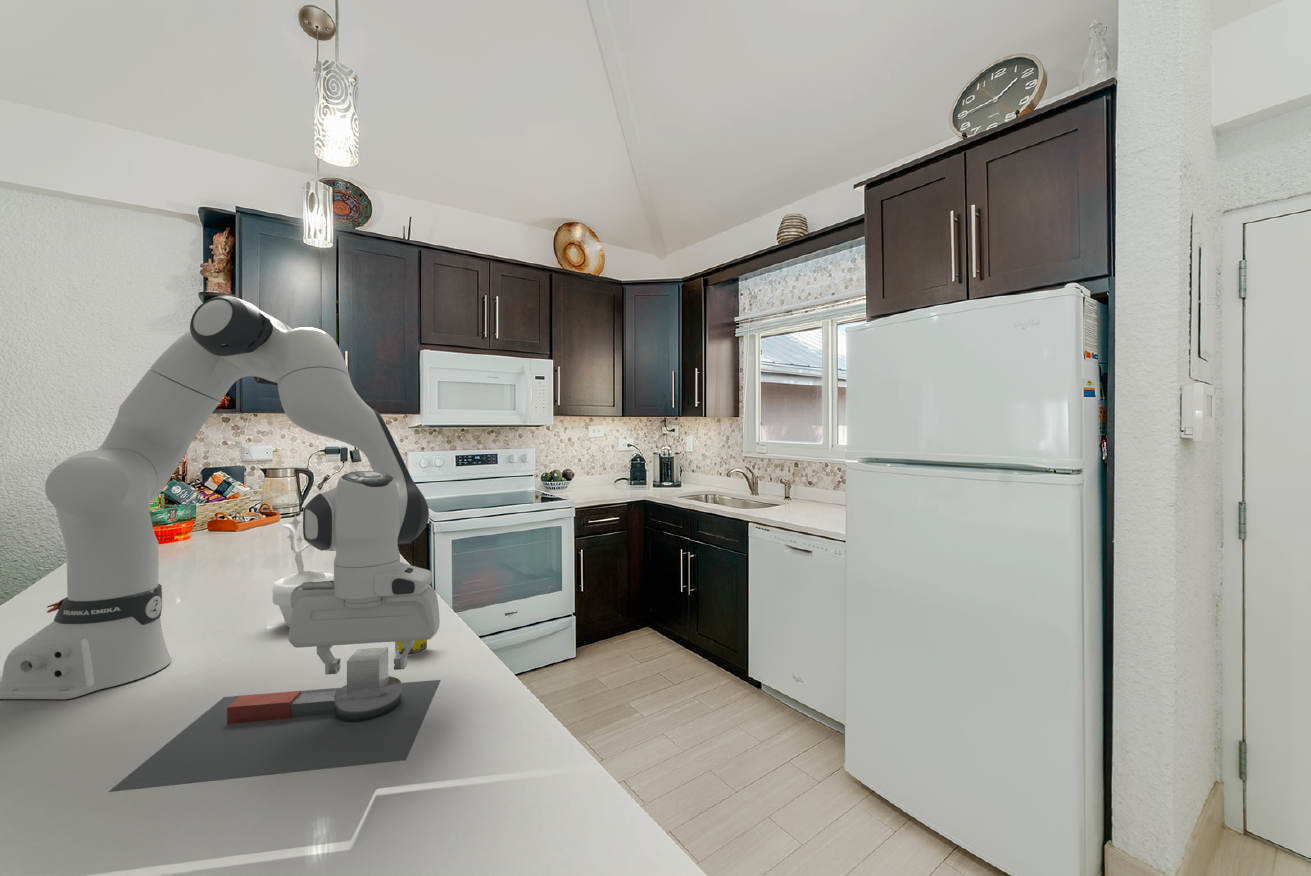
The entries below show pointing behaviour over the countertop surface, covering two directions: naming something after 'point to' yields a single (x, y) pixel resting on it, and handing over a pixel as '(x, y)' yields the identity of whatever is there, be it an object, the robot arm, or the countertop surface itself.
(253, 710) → the ratchet
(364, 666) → the light grey block
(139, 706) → the countertop surface
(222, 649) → the countertop surface
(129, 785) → the mat
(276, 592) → the potted plant
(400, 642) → the supplement bottle
